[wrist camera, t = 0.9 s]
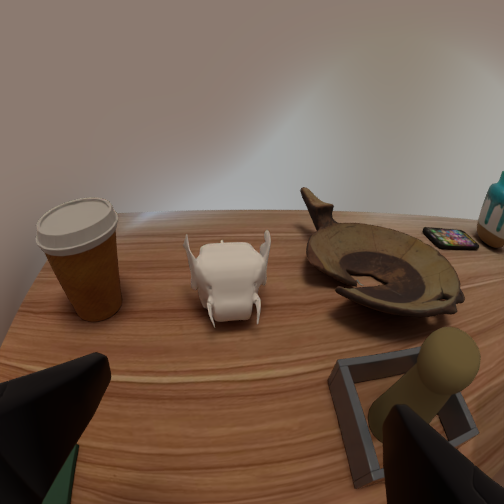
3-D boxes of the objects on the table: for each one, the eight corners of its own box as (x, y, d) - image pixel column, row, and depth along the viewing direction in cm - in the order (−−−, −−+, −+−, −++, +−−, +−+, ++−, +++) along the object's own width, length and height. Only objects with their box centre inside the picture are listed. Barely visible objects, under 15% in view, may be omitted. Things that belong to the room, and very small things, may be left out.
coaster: (68, 533, 8) (64, 532, 8) (-10, 492, 7) (-14, 490, 7) (79, 445, 16) (76, 443, 16) (7, 419, 15) (4, 416, 15)
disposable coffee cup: (144, 283, 35) (130, 195, 28) (119, 338, 27) (88, 240, 20) (84, 276, 35) (63, 196, 28) (52, 324, 27) (16, 236, 20)
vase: (466, 230, 59) (486, 162, 48) (491, 237, 57) (512, 174, 47) (483, 250, 50) (509, 176, 40) (509, 257, 49) (534, 188, 38)
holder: (457, 448, 16) (479, 433, 14) (354, 489, 15) (373, 481, 13) (420, 363, 26) (434, 343, 24) (326, 380, 25) (337, 359, 23)
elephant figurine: (189, 346, 27) (180, 277, 22) (186, 274, 37) (181, 213, 32) (280, 337, 29) (294, 269, 24) (256, 270, 39) (262, 210, 34)
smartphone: (421, 226, 54) (462, 229, 56) (420, 230, 55) (461, 233, 56) (441, 245, 47) (481, 246, 49) (439, 249, 48) (479, 250, 49)
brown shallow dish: (350, 370, 26) (377, 317, 21) (272, 227, 50) (277, 185, 46) (472, 325, 30) (498, 283, 26) (375, 224, 55) (384, 190, 51)
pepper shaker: (367, 447, 18) (437, 379, 12) (367, 391, 23) (418, 310, 17) (424, 445, 17) (501, 377, 11) (419, 393, 22) (477, 317, 16)
